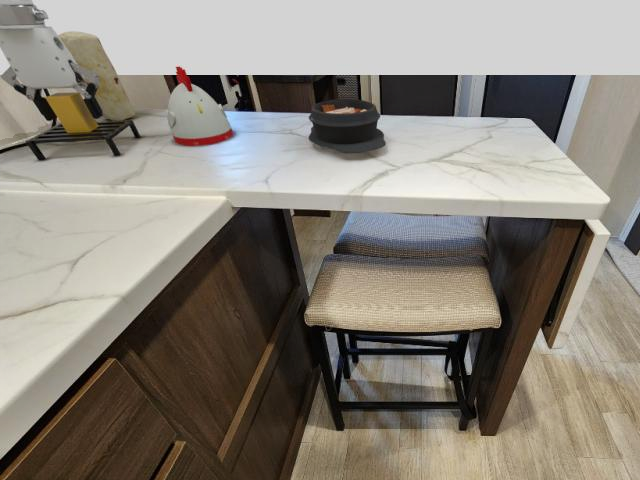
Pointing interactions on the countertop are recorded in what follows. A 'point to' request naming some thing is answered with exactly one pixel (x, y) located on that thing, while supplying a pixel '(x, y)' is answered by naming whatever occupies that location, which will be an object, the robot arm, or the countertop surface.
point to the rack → (82, 136)
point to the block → (72, 112)
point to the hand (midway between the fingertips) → (75, 118)
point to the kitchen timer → (195, 115)
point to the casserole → (346, 126)
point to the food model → (99, 74)
